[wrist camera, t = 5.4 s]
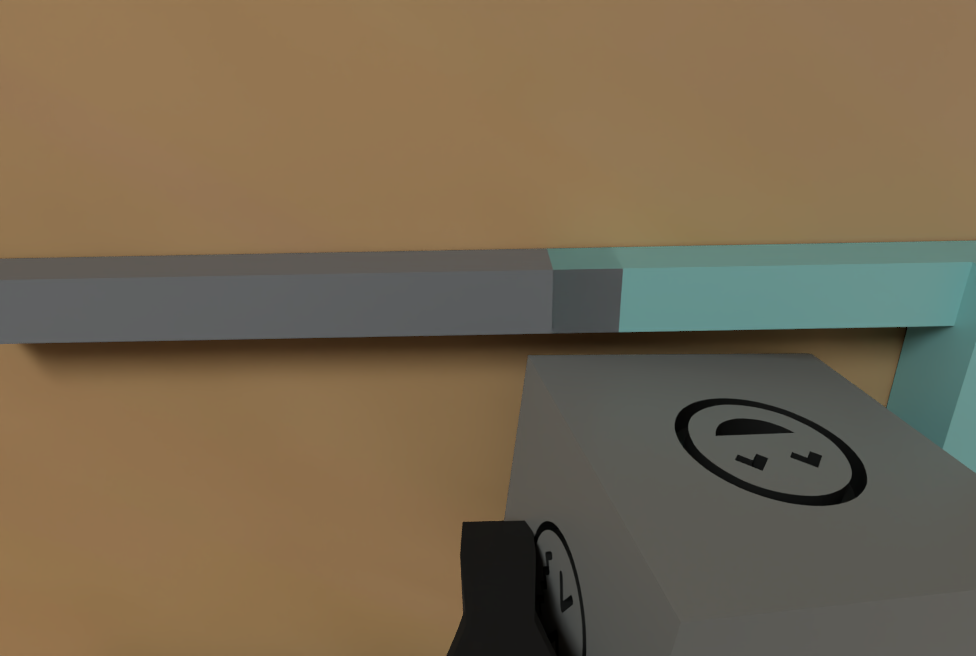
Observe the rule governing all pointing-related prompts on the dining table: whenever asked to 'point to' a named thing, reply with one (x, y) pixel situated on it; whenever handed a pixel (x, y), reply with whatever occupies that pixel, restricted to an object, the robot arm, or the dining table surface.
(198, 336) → the guide lane
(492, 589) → the robot arm
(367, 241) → the dining table surface
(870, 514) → the dice cube
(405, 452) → the dining table surface
